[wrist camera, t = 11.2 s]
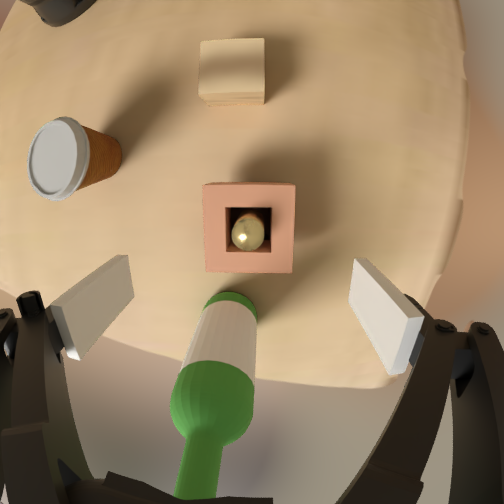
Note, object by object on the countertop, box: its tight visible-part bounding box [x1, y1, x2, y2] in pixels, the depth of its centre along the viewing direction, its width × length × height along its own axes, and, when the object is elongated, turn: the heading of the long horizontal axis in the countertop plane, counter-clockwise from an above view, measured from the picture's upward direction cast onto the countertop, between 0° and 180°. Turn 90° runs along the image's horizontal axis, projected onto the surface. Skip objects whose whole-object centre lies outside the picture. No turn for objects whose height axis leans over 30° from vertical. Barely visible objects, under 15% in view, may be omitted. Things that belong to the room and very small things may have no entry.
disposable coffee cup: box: [27, 117, 122, 201], centre depth 27 cm, size 10×10×12 cm
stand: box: [198, 38, 265, 106], centre depth 26 cm, size 7×7×6 cm
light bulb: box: [231, 207, 271, 251], centre depth 30 cm, size 7×7×10 cm
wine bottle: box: [170, 292, 257, 500], centre depth 25 cm, size 8×8×30 cm
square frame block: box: [203, 182, 295, 273], centre depth 29 cm, size 9×9×5 cm
